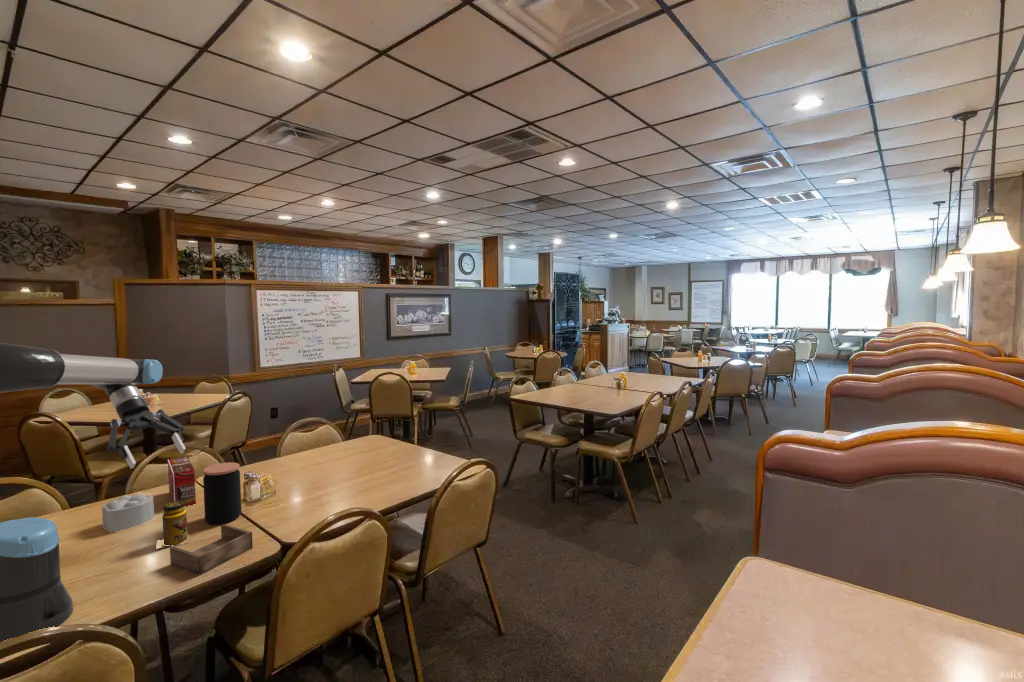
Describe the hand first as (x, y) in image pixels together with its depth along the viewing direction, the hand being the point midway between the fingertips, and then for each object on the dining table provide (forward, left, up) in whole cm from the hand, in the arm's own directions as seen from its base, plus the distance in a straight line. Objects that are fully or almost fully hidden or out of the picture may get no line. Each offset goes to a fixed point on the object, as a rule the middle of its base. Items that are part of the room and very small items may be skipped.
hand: (159, 458), depth 143 cm
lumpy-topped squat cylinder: (-10, +21, -26) cm, 35 cm away
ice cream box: (+4, +36, -26) cm, 44 cm away
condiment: (+2, -3, -26) cm, 27 cm away
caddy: (+12, -20, -26) cm, 35 cm away
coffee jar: (+16, +7, -26) cm, 32 cm away
